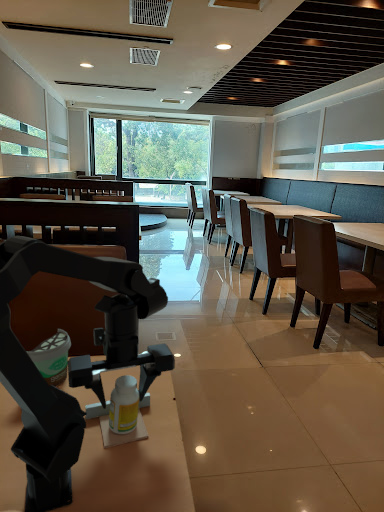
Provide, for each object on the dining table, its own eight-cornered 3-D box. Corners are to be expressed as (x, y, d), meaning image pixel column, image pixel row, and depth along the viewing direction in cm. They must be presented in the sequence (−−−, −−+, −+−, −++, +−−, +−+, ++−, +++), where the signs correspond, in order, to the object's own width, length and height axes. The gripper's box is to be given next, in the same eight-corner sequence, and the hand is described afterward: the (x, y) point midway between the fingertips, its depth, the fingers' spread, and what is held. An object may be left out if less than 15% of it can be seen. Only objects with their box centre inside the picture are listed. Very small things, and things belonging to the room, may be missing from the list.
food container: (50, 399, 73) (47, 357, 71) (26, 393, 75) (22, 352, 72) (83, 368, 85) (81, 331, 82) (61, 364, 86) (59, 327, 84)
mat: (148, 437, 64) (148, 435, 64) (104, 448, 61) (104, 446, 61) (139, 409, 71) (139, 408, 71) (99, 418, 68) (99, 416, 68)
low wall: (150, 405, 72) (150, 395, 72) (86, 419, 68) (85, 408, 67) (149, 402, 73) (149, 392, 73) (85, 416, 69) (85, 405, 68)
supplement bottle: (102, 429, 64) (105, 384, 62) (118, 412, 69) (121, 370, 67) (127, 439, 63) (130, 393, 60) (142, 421, 67) (145, 378, 65)
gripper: (159, 305, 72) (158, 371, 75) (64, 316, 65) (68, 387, 69) (176, 328, 62) (174, 403, 65) (66, 343, 55) (71, 426, 59)
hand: (122, 403), depth 65 cm, fingers open, 6 cm apart
